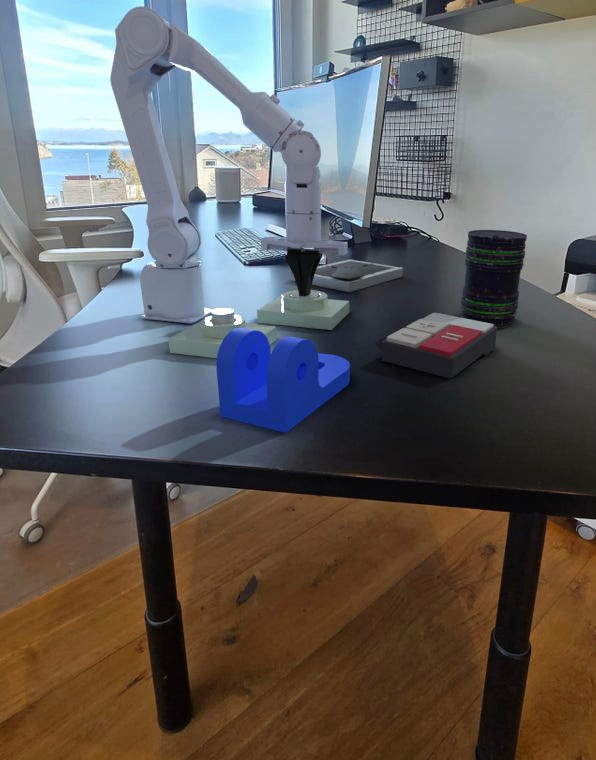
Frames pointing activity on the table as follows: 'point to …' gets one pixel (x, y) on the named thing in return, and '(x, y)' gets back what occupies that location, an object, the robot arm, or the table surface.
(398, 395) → the table surface
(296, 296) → the full button
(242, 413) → the bracket
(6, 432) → the table surface
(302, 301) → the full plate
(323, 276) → the picture frame
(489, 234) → the storage jar
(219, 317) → the half button
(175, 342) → the pale green button base
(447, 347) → the calculator
